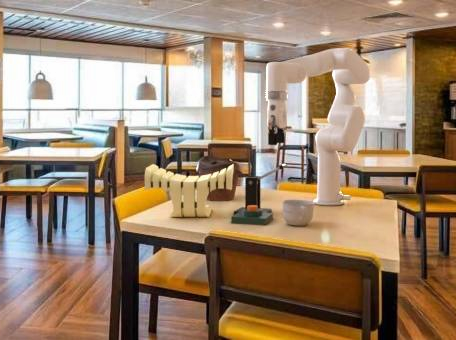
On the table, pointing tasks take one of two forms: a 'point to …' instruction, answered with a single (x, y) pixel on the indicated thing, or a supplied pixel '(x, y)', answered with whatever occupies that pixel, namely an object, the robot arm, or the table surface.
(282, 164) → the lever
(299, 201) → the teacup
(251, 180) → the bracket
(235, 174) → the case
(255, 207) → the button
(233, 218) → the button block
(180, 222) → the table surface
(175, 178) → the slatted curved stool
